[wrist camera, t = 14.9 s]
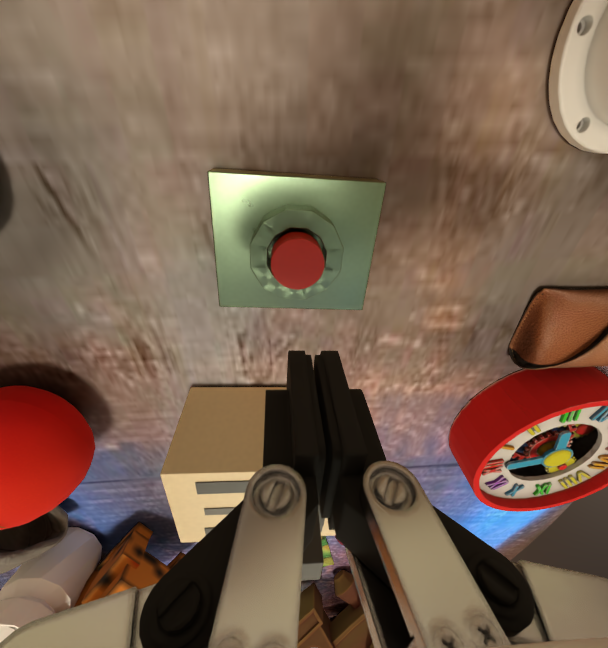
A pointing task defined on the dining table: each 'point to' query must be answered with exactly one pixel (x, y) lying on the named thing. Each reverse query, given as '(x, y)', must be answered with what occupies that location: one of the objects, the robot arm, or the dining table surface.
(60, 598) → the vase
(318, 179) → the block
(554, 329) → the sunglasses case
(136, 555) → the toy animal
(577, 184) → the dining table surface
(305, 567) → the slider
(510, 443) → the toy clock
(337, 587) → the wooden toy train
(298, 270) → the button
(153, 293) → the dining table surface
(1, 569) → the shoe
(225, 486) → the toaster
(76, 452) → the tomato
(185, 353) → the dining table surface
